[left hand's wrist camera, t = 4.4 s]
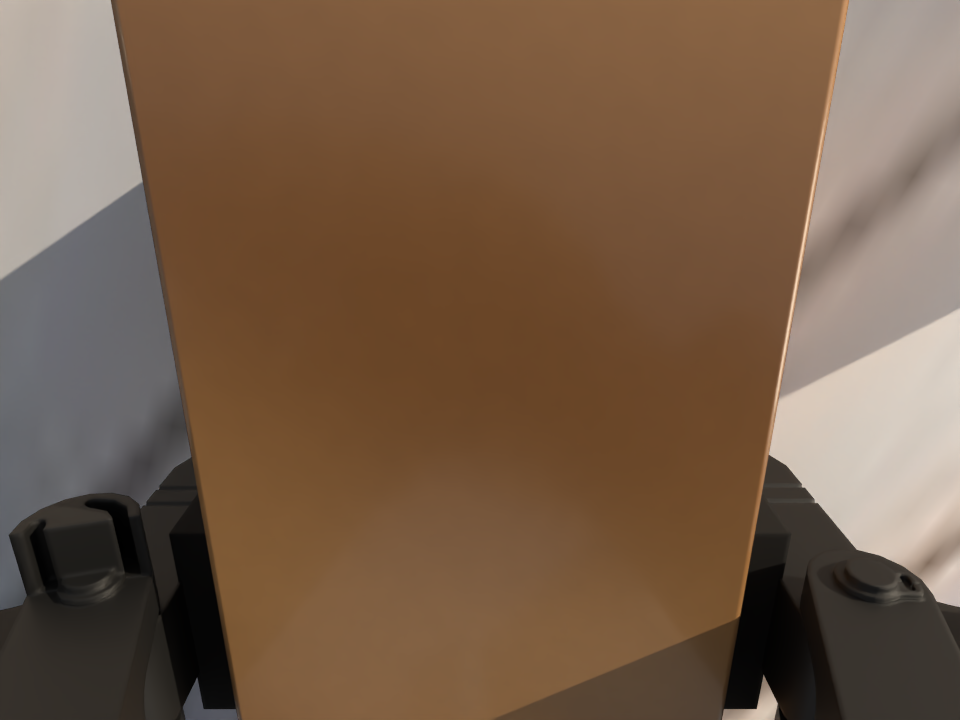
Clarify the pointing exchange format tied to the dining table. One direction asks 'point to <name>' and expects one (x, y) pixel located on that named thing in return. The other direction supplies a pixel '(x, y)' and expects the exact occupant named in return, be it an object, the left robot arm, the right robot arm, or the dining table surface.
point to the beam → (479, 334)
